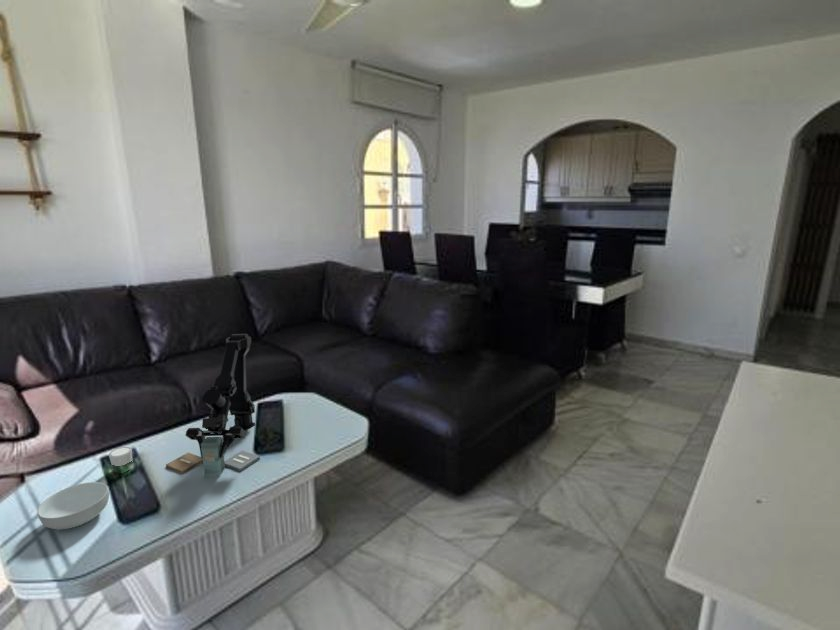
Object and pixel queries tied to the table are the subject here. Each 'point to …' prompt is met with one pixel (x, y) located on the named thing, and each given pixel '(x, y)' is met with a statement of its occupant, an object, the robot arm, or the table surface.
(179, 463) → the walnut tile
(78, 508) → the cereal bowl
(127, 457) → the white cylinder
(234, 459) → the slate tile
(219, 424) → the robot arm
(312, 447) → the table surface
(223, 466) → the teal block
